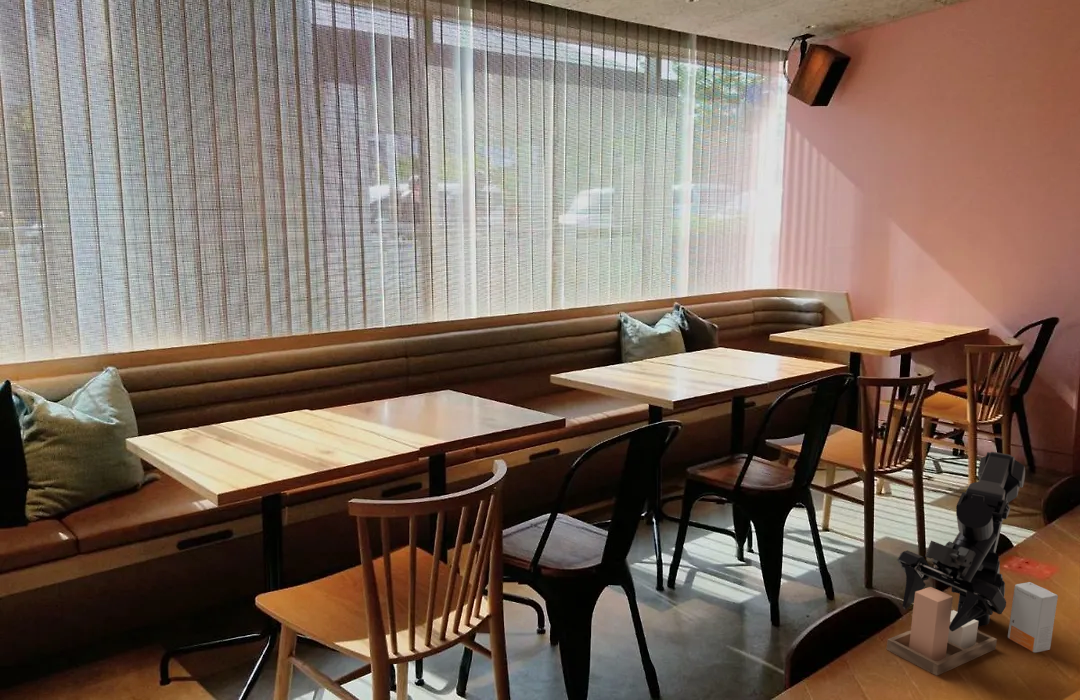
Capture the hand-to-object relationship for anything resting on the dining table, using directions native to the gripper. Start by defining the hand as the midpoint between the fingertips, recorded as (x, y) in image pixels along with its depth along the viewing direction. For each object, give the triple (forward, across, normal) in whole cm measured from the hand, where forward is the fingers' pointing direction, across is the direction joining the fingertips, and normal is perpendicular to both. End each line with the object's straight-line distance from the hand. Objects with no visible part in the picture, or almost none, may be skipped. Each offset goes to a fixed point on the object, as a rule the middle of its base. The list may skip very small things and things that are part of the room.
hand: (926, 618), depth 151 cm
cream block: (-2, 0, +12) cm, 13 cm away
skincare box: (-10, +7, +22) cm, 25 cm away
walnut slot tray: (+2, 0, +10) cm, 10 cm away
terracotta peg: (+4, 0, +6) cm, 8 cm away
